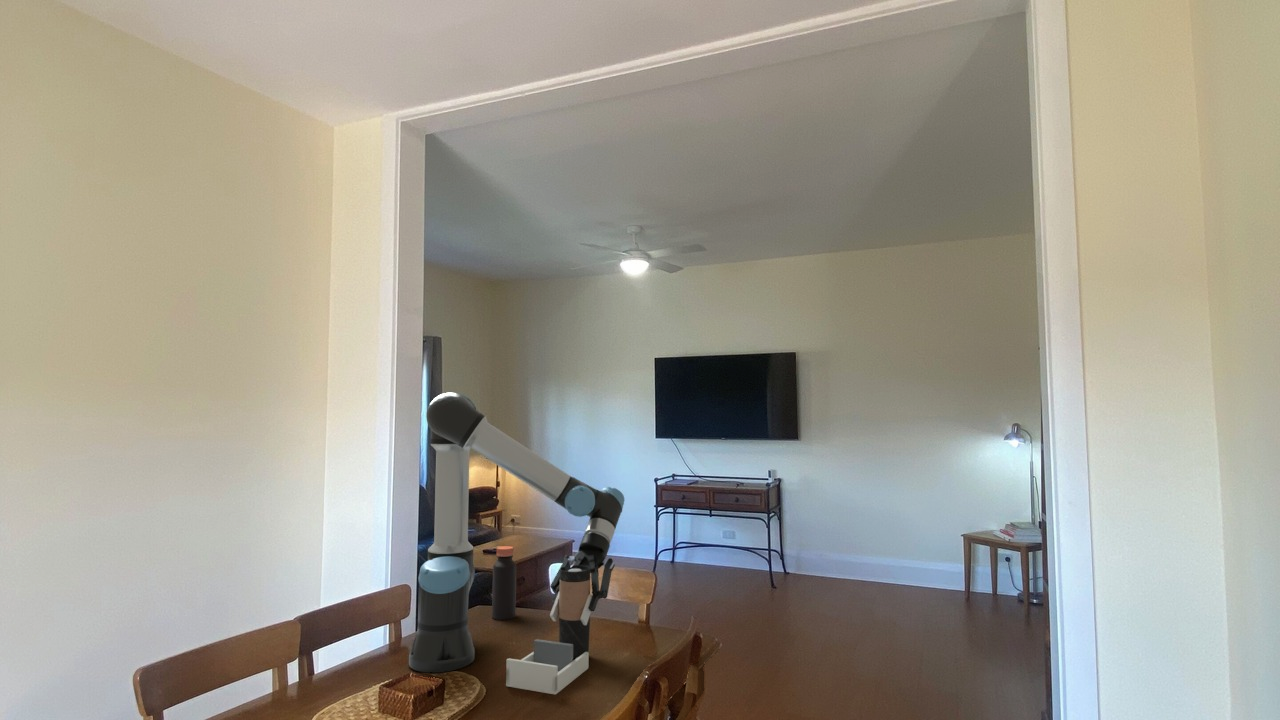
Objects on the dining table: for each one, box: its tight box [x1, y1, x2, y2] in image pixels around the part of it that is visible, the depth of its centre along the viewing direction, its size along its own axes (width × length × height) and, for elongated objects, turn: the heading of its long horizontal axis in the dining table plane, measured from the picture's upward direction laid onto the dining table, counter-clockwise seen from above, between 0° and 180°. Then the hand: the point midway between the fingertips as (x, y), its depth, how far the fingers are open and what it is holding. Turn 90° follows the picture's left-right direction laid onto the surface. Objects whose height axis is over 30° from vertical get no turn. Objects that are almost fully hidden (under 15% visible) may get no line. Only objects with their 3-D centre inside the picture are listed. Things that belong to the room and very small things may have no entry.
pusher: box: [533, 638, 574, 672], centre depth 151 cm, size 10×2×6 cm, turn 69°
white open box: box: [505, 651, 590, 696], centre depth 149 cm, size 12×16×6 cm
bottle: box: [491, 545, 517, 621], centre depth 195 cm, size 7×7×20 cm
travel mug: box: [558, 564, 591, 658], centre depth 161 cm, size 8×8×20 cm
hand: (567, 620), depth 158 cm, fingers closed on travel mug, 7 cm apart
